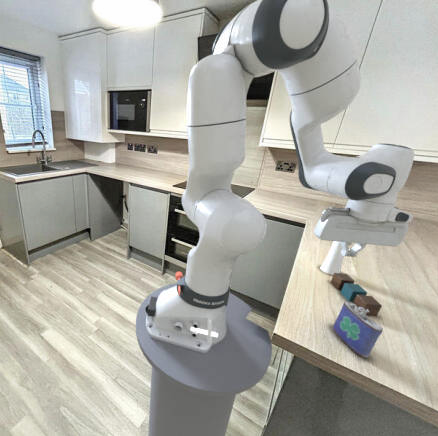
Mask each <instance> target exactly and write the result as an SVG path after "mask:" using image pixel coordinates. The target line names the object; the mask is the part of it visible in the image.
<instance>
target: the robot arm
mask: <svg viewBox="0 0 438 436" xmlns="http://www.w3.org/2000/svg"><path fill="white" fill-rule="evenodd" d="M357 58H358V57H357V55H356V51H355V46H354V44H353V42H352V38H351V36H350V33H349V31H348V29H347V27H346V25H345V22H344V21H343V19H342V17H341V15H340V14H339V12H338V11H337V10H336V9H335V8H333V7H330V6H329V3H328V0H255V1H253V2H251V3H250V4H248V5H246V6H245V7H244V8H243V9H242V10H240V11H239V12H238V13H237V14H236V15H235V16H234V17H233V18H232V19H231V20H229V21H228V22H227V23H225V25H224V26H223V27H222V28H221V29H220V31H219V33H218V34H217V36H216V38H215V40H214V41H213V45H212V48H211V51H210V53H209V55H207V56H205V57H203V58H201V59H200V60H199V61H198V62H196V63H195V64H194V65H193V66H192V69H191V70H190V73H189V77H188V85H187V94H186V95H187V96H186V129H187V130H186V131H187V146H188V147H187V148H188V173H187V179H186V180H187V181H186V187H185V189H184V191H183V193H182V196H181V206H182V208H183V211H184V214H185V215H186V217H187V218H188V219H189V221H191V222H192V224H193V225H195V226H196V227H197V229H198V233H199V238H198V242H197V244H196V246H193V247H192V248H191V249H190V250H189V251H188V253H187V260H186V267H185V274H183V272H182V271H176V272H175V280H176V283H177V286H174V287H172V288H169V289H167V290H164V291H162V292H161V293H160V295H159V297H151V298H150V302H149V304H148V305H147V306H146V308H145V310H146V313H147V316H146V329H147V332H148V334H149V336H150V337H152V338H155V339H158V340H161V341H164V342H168V343H171V344H175V345H178V346H181V347H185V348H188V349H191V350H195V351H198V352H201V353H207V352H208V351H209V350H210V349H211V347H212V346H213V345H215V344H217V343H219V342H220V341H222V340H223V339H224V337H225V336H226V333H227V326H226V318H225V312H226V306H227V303H228V301H229V296H230V293H231V286H230V283H231V278H232V275H233V274H232V273H233V271H234V266H235V263H236V262H237V259H238V258H239V257H240V255H245V254H248V253H250V252H252V251H254V250H255V249H257V248H258V247H259V246H260V245H261V243H263V241H264V239H265V236H266V234H267V230H268V229H267V228H268V224H267V220H266V217H265V216H264V215H263V213H261V211H260V210H259V209H258V208H257V207H256V206H254V204H252V202H250V201H249V200H247V199H245V198H243V197H242V196H240V195H238V194H235V193H234V192H233V190H232V181H233V177H234V174H235V172H236V170H237V169H239V168H240V167H241V166H242V164H243V163H244V162H245V158H246V140H247V139H246V138H247V137H246V136H247V135H246V134H247V95H248V92H249V89H250V86H251V84H252V81H253V79H254V78H260V77H263V76H266V75H270V74H271V73H274V72H278V73H279V74H280V75H281V76H282V79H283V82H284V85H285V89H286V92H287V95H288V97H289V100H290V104H291V110H290V113H289V126H290V127H289V128H290V133H291V136H292V140H293V145H294V148H295V153H296V157H297V164H298V173H297V174H298V180H299V182H300V184H301V185H302V186H303V187H304V188H305V189H308V190H313V191H318V192H321V193H325V194H328V195H332V196H335V197H340V198H342V199H346V200H347V202H346V204H345V207H336V206H330V207H328V208H326V209H324V210H323V211H322V213H321V215H320V217H319V219H318V222H317V223H316V225H315V227H314V230H313V234H314V235H315V237H316V238H318V239H319V240H321V241H327V242H334V241H337V242H340V243H341V246H342V251H341V254H342V255H343V256H344V257H351V258H356V257H357V255H358V253H360V252H361V251H362V250H363V249H365V248H366V246H367V245H375V246H384V247H397V246H399V245H401V244H402V242H403V241H404V239H405V237H406V236H407V233H408V230H409V224H408V223H411V222H412V221H413V219H414V215H413V214H411V213H409V212H407V211H405V210H402V209H400V208H399V207H397V206H396V204H397V200H398V194H399V192H400V191H401V190H402V189H403V188H404V186H405V184H406V182H407V180H408V178H409V176H410V173H411V169H412V167H413V163H414V159H415V150H413V149H412V148H411V147H408V146H405V145H401V144H400V145H399V144H393V143H376V144H373V145H372V146H371V147H370V149H369V150H368V151H367V152H365V153H363V154H360V155H357V156H353V157H352V156H347V155H346V156H345V155H338V154H334V153H332V152H330V151H329V150H327V149H326V148H325V144H324V143H325V142H324V138H323V137H324V136H323V131H322V124H324V123H327V122H328V121H331V120H332V119H334V118H335V117H336V116H338V115H339V114H341V113H342V112H343V111H345V110H346V109H347V108H348V107H349V106H350V105H351V104H352V103H353V101H354V100H355V99H356V97H357V95H358V94H359V91H360V89H361V80H362V79H361V70H360V67H359V63H358V62H359V61H358V59H357ZM352 244H354V245H353V246H352ZM351 246H352V247H351ZM349 247H351V248H349ZM150 327H151V328H150ZM199 346H200V347H199Z"/></svg>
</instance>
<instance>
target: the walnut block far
mask: <svg viewBox="0 0 438 436" xmlns="http://www.w3.org/2000/svg"><path fill="white" fill-rule="evenodd" d="M355 282H356V281H355V280H354V278H352V277H351V276H350V275H349V274H347V273H343V272H340V273H334V275H332V278H331V280H330V283H331V285H332V286H333V287H334V288H335V289H336V290H337V291H341V290H342V288H343V286H344V283H350V284H355Z"/></svg>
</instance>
